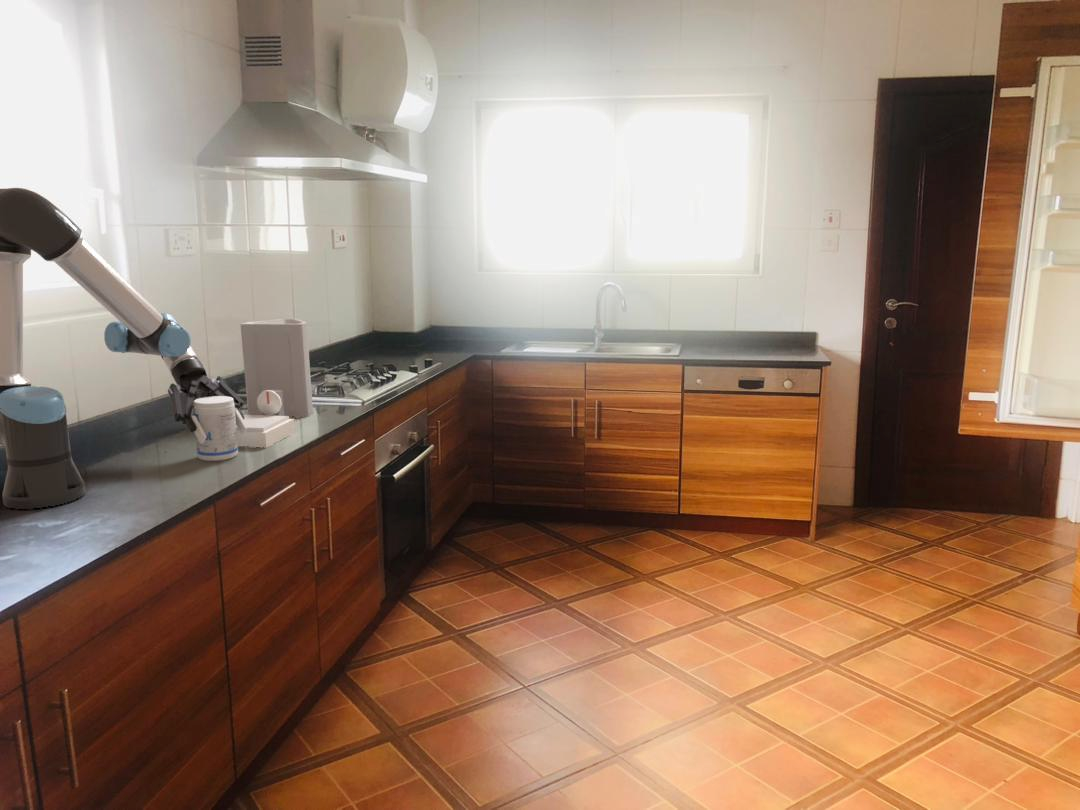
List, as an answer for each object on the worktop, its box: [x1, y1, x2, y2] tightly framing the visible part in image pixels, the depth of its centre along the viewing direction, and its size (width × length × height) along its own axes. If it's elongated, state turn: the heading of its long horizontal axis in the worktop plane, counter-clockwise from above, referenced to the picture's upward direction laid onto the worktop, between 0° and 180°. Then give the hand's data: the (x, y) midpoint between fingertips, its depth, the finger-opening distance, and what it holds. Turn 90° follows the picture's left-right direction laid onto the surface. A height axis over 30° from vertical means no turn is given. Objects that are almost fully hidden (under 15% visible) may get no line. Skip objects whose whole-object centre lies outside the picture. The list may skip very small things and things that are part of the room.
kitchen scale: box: [236, 390, 296, 449], centre depth 226 cm, size 21×16×12 cm
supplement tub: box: [192, 396, 239, 462], centre depth 207 cm, size 10×10×15 cm
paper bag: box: [239, 318, 314, 418], centre depth 256 cm, size 19×15×28 cm
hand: (224, 435), depth 204 cm, fingers open, 10 cm apart
